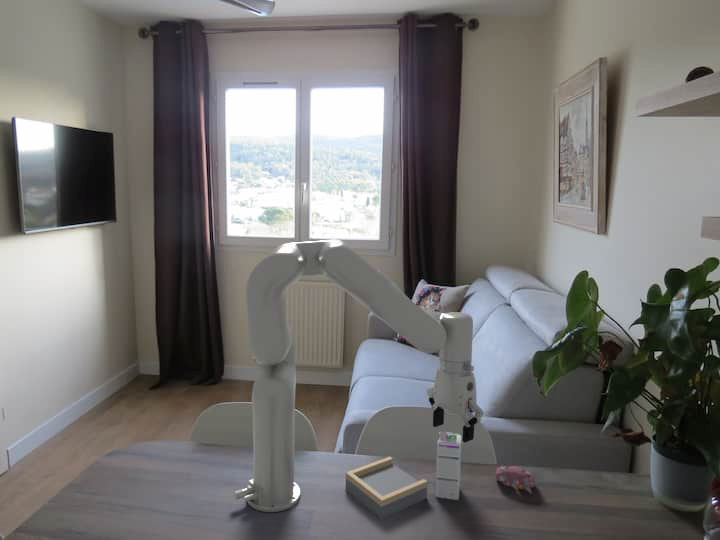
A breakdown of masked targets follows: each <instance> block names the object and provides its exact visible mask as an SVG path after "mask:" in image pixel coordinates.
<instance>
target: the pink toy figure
mask: <svg viewBox="0 0 720 540" xmlns="http://www.w3.org/2000/svg"><path fill="white" fill-rule="evenodd" d="M494 473H495V479H496V481H499V482H501V483H502V484H503V485H504V486H505V485H506V486H505V487H508V486H510V487H512V486H513V483H514V481H516V484H515V485H516V486H515V487H517V489H519V490H525V489H527V488H535V485H536V483H537V481H536V478H535V475H534V474H533V473H532V472H531V471H530V470H525V469H523V468H521V467H518V466H515V465H514V466H506V465H501V466H499V467H498V468H496V471H495V472H494Z"/></svg>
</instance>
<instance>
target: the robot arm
mask: <svg viewBox="0 0 720 540" xmlns="http://www.w3.org/2000/svg"><path fill="white" fill-rule="evenodd" d="M317 276H325V277H326V278H327V279H328V280H329V281H331V282H332V283H334V284H335V285H336V286H337V287H339V288H340V289H341V290H343V291H344V292H346V293H347V295H350V296H351V297H352V298H353V299H354V300H356V301H357V302H359V303H360V304H361V305H362V306H363V307H365V308H366V309H367V310H368V311H370V312H371V313H372V314H373V315H374V316H375V317H377V318H378V319H379V320H381V321H382V322H383V323H384V324H385V325H387V326H388V327H390V329H392V330H393V331H394V332H395V333H396V334H398V335H399V336H401V337H402V338H403V339H404V340H406V341H407V342H409V343H410V345H412V346H414V348H417V350H419V351H421V352H423V353H426V354H427V353H428V354H433V353H436V352H439V354H438V355H439V358H438V359H439V360H438V363H439V364H438V367H437V369H436V373H435V374H436V375H435V379H434V381H435V382H434V387H432V388H428V389H427V390H426V393H427V397H428V401H429V404H430V406H431V407H430V409H431V411H432V412H433V415H432V426H433V427H434V428H438V427H440V426H442V425H444V424H445V423H444V422H445V411H448V412H450V413H452V414H454V415H456V416H459V417H461V419H462V421H463V424H464V425H463V426H462V438H461V441H462V442H463V443H467V442H470V441H473V440H474V437H475V425H477V424H478V423H479V422H481V420H482V418H483V416H484V414H485V412H484V411H483V409H482V408H481V407H480V406H479V405H478V404H477V386H476V383H477V382H476V378H475V373H474V369H475V367H474V365H472V357H473V334H474V330H473V329H474V319H473V317H472V315H470V314H468V313H465V312H461V311H460V312H459V311H450V312H444V313H443V312H438V311H437V312H436V311H435V312H434V311H430V310H424V309H422V308H421V307H420V306H419V305H417V304H416V303H415V302H414V301H413V300H411V299H410V298H409V297H408V296H407V295H406V294H405V293H404V292H403V291H402V289H400V288H399V286H398V285H397V284H396V283H395V282H394V281H392V279H391V278H390V277H388V276H387V275H386V274H385V273H383V272H382V271H381V270H379V269H378V268H376V267H375V265H373V264H371V263H370V262H369V261H368V260H366V259H365V258H364V257H362V256H361V254H359V253H358V252H356V251H355V250H354V249H353V248H351V246H350V245H349V244H348V243H347V242H345V241H344V240H341V239H326V240H316V241H315V240H314V241H302V242H301V241H299V242H287V243H283V244H280V245H278V246H277V247H275V248H274V249H273V250H272V252H271V253H270V254H269V255H267V256H265V257H264V258H262V259H261V261H260V262H258V263H257V264H256V265H255V266H254V267H253V269H252V270H251V272H250V273H249V276H248V279H247V281H246V288H245V293H246V294H245V295H246V296H245V297H246V310H247V325H248V333H249V334H248V338H249V348H250V349H249V350H250V352H251V355H252V357H253V359H254V360H255V364H256V376H255V380H254V383H253V387H252V393H251V409H252V425H253V426H252V439H253V441H252V442H253V444H252V445H253V446H252V447H253V454H252V456H253V457H252V458H253V464H252V467H253V473H252V474H253V476H252V477H253V478H252V479H249V480H248V484H249V485H246V486H245V488H240V489H238V490H235V491H233V498H234V500H235V501H237V500H240V499H242V500H243V502H244V503H248V505H249V506H250V507H252V508H253V509H255V510H257V511H260V512H264V513H276V512H282V511H285V510H288V509H291V508H292V507H294V506H295V505H297V503H298V502H299V501H300V498H301V488H300V486H299V485H298V484H297V483H296V482H295V411H296V410H295V409H296V407H295V406H296V405H295V404H296V403H295V402H296V387H297V386H296V385H297V383H296V382H297V371H296V369H297V368H296V361H295V360H296V358H295V349H294V348H295V347H294V337H293V329H292V326H291V325H290V323H289V322H288V321H287V313H286V302H285V301H286V298H285V295H286V293H287V292H286V291H287V290H288V288H289V287H291V286H292V285H294V284H296V283H297V282H298V281H300V280H301V279H302V278H304V277H317Z"/></svg>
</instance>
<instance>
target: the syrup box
mask: <svg viewBox="0 0 720 540" xmlns="http://www.w3.org/2000/svg"><path fill="white" fill-rule="evenodd" d="M462 438H463V434H462V433H457V432H450V431H439V432H438V436H437V444H436V445H437V446H436V464H435V465H436V469H435V471H436V472H435V493H434V496H435V498H438V499H439V498H440V499H445V498H446V500H453V501H459V498H460V490H461V489H460V488H461V487H460V486H461V471H462V470H461V469H462V468H461V467H462Z"/></svg>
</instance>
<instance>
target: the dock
mask: <svg viewBox="0 0 720 540" xmlns="http://www.w3.org/2000/svg"><path fill="white" fill-rule="evenodd" d="M393 460H394V458H393V457H391V456H387V457H385V458H382V459H379V460H377V461H374V462H371V463H368V464H366V465H362V466H360V467H357V468H355V469H351V470H349V471H347V472H345V490H346V492H348V493H349V494H350V495H352V496H353V497H354V498H355V499H356V500H358V501H359V502H360V503H361V504H362V505H364V506H365V507H366V508H367V509H368V510H370V511H371V512H372V513H374V515H376V516H377V518H378V517H379V519H385V518H386V517H389V516H391V515H394V514H395V513H397V512H400V511H403V510H404V509H406V508H409V507H411V506H413V505H415V504H418V503H420V502H422V501H424V500H427V497H428V496H427V494H428V480H426V479H425V478H422V479H420V480H418V479H416V478H414V477H413V476H411V475H410V474H408V473H407V472H406V471H404V470H402V469H401V468H400V467H398V466H397V465H396V464H394V463H393V462H394V461H393Z"/></svg>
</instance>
